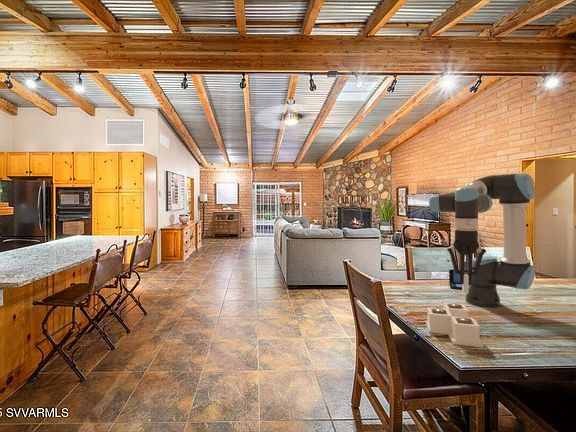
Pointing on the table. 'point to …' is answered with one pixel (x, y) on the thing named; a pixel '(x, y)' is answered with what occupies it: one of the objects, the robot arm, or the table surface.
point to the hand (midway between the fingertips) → (465, 292)
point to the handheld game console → (455, 280)
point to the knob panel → (454, 325)
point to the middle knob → (438, 311)
